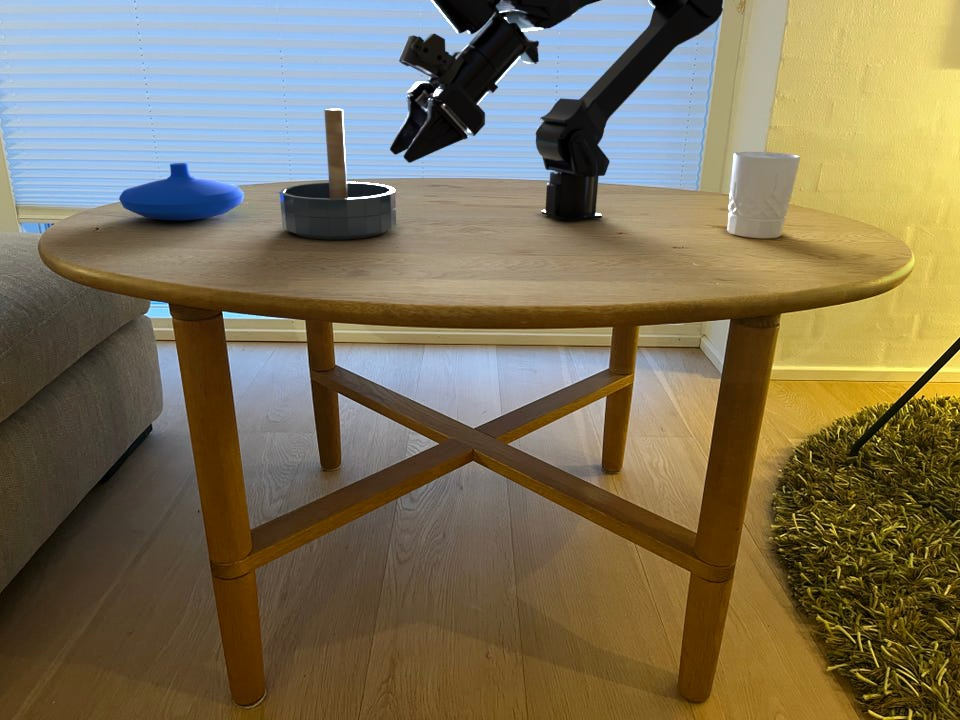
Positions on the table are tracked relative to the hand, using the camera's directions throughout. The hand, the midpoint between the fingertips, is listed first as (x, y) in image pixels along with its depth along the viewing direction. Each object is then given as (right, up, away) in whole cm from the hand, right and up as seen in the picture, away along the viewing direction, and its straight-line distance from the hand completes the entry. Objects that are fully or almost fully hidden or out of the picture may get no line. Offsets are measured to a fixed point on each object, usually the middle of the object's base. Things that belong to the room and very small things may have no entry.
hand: (398, 156), depth 88 cm
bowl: (-8, -9, +1) cm, 12 cm away
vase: (-30, -6, +7) cm, 32 cm away
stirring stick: (-8, -9, +1) cm, 12 cm away
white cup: (+46, -9, +3) cm, 47 cm away
